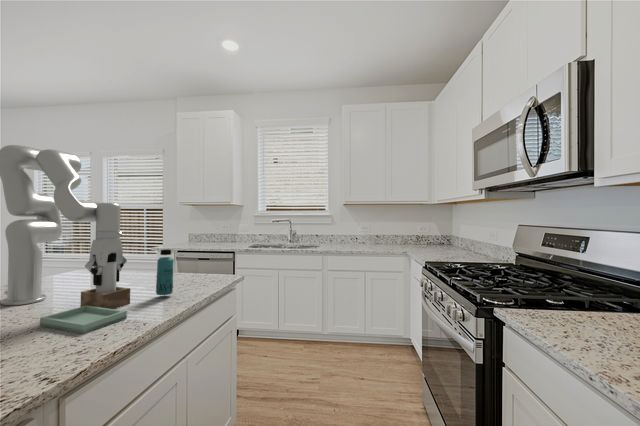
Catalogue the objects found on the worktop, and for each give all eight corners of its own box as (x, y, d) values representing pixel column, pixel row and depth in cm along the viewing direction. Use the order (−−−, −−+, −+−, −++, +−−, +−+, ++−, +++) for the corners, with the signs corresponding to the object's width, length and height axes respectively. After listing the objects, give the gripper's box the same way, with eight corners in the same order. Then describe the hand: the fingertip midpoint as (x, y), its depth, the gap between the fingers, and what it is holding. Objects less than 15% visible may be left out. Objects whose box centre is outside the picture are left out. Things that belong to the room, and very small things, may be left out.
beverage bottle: (152, 297, 128) (153, 249, 128) (165, 294, 134) (166, 248, 134) (163, 299, 125) (164, 250, 125) (176, 295, 131) (177, 249, 132)
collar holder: (80, 308, 112) (80, 291, 112) (107, 300, 122) (107, 285, 122) (104, 311, 109) (104, 294, 109) (129, 303, 119) (130, 288, 119)
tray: (39, 326, 94) (40, 317, 94) (86, 312, 107) (86, 305, 107) (83, 333, 89) (83, 325, 89) (126, 318, 102) (126, 311, 102)
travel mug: (105, 309, 111) (107, 254, 112) (90, 307, 113) (92, 253, 113) (120, 304, 118) (121, 252, 118) (105, 303, 119) (107, 251, 119)
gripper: (121, 234, 125) (119, 278, 125) (76, 236, 108) (75, 287, 108) (135, 234, 123) (134, 279, 122) (92, 237, 106) (91, 289, 106)
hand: (106, 282), depth 115 cm, fingers open, 6 cm apart
